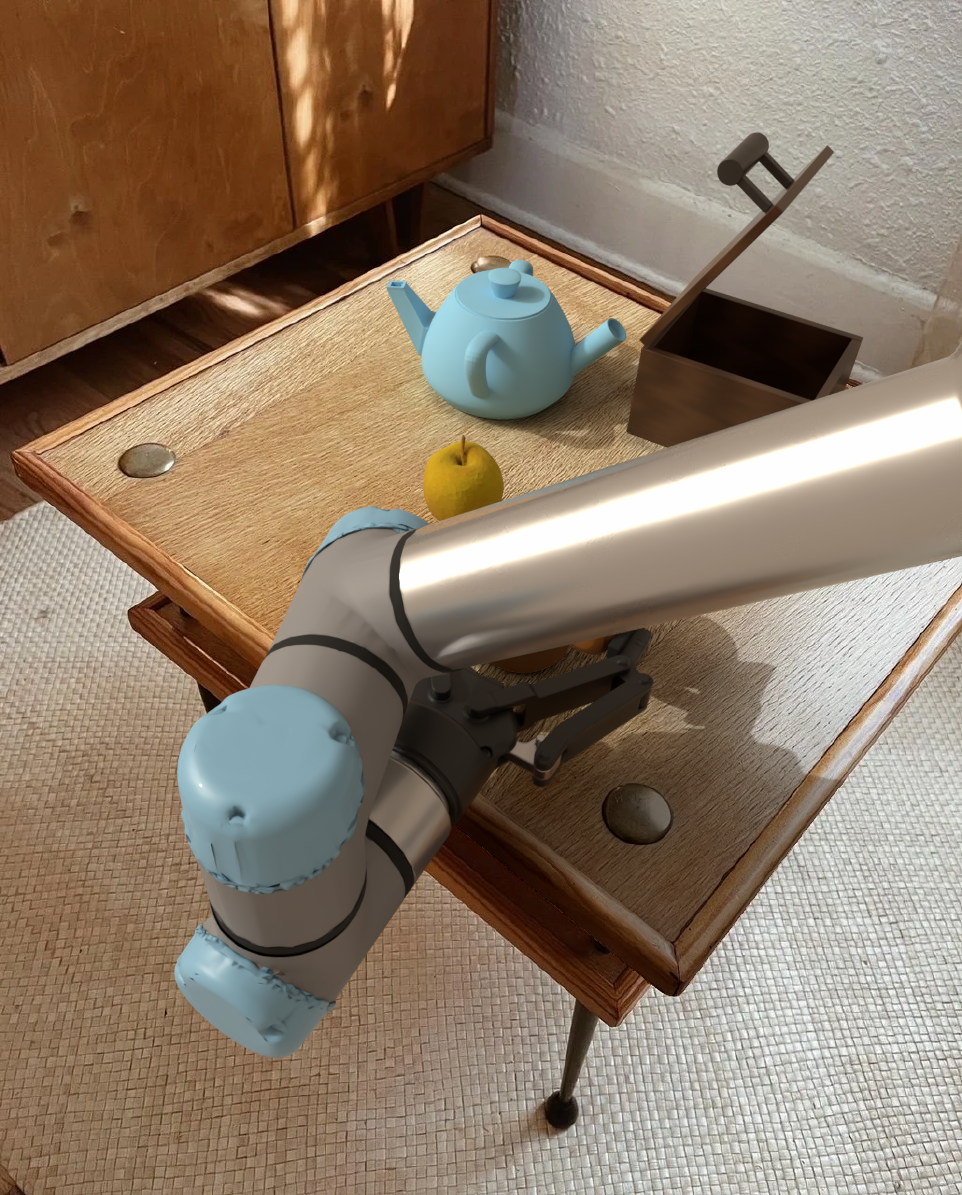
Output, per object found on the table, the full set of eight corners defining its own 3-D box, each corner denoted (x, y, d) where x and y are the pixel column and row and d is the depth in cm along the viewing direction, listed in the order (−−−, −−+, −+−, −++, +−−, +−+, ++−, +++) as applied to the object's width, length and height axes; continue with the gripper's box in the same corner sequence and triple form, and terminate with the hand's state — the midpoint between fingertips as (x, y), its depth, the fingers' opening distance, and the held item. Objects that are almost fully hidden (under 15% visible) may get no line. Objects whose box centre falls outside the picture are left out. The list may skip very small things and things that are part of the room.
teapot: (485, 460, 89) (492, 348, 81) (383, 364, 99) (380, 255, 91) (621, 406, 96) (639, 297, 88) (513, 321, 105) (520, 216, 97)
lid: (834, 152, 81) (783, 98, 81) (783, 212, 73) (726, 153, 73) (700, 283, 94) (656, 238, 93) (645, 347, 86) (596, 297, 86)
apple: (466, 488, 87) (469, 410, 81) (516, 528, 83) (523, 450, 78) (405, 519, 84) (404, 441, 78) (455, 562, 80) (458, 484, 75)
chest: (834, 419, 96) (863, 337, 89) (791, 493, 88) (820, 409, 82) (679, 366, 101) (696, 285, 94) (626, 432, 93) (641, 348, 87)
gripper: (244, 738, 65) (426, 541, 79) (580, 922, 58) (719, 669, 71) (228, 662, 60) (427, 464, 73) (596, 854, 52) (744, 594, 66)
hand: (571, 565), depth 72 cm, fingers closed on mug, 12 cm apart
